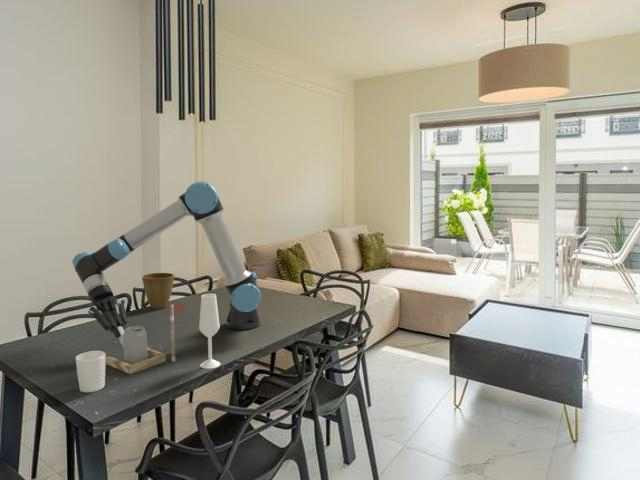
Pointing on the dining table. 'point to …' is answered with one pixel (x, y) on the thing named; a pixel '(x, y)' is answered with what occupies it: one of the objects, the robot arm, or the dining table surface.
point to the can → (135, 344)
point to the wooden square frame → (149, 350)
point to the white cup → (91, 371)
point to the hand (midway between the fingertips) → (126, 343)
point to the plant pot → (158, 289)
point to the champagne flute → (209, 325)
